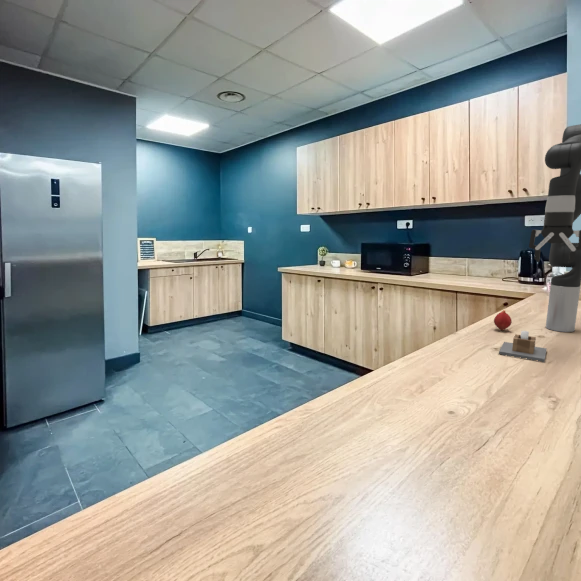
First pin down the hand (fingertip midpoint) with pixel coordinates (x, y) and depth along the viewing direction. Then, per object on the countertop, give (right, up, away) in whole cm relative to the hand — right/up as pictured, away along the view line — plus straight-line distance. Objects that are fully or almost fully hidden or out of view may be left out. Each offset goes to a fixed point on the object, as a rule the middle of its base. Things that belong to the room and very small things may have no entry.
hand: (553, 262), depth 122 cm
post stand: (-11, -29, -2) cm, 31 cm away
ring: (-11, -28, -2) cm, 30 cm away
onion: (-4, -25, +23) cm, 34 cm away
